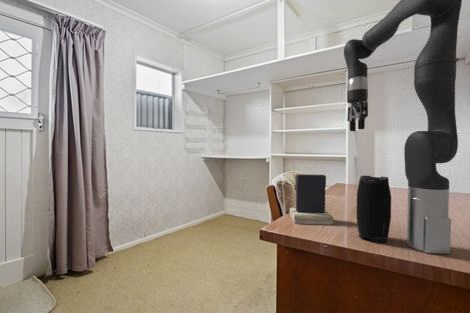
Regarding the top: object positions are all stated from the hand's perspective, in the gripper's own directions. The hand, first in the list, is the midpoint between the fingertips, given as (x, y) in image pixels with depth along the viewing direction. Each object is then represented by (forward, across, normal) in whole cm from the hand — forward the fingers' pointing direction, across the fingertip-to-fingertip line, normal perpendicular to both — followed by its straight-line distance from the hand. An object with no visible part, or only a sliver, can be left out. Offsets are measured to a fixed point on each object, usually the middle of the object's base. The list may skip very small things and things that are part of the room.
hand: (356, 130), depth 100 cm
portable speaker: (+36, -24, +4) cm, 44 cm away
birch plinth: (+36, -3, +19) cm, 41 cm away
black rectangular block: (+33, -3, +19) cm, 38 cm away
